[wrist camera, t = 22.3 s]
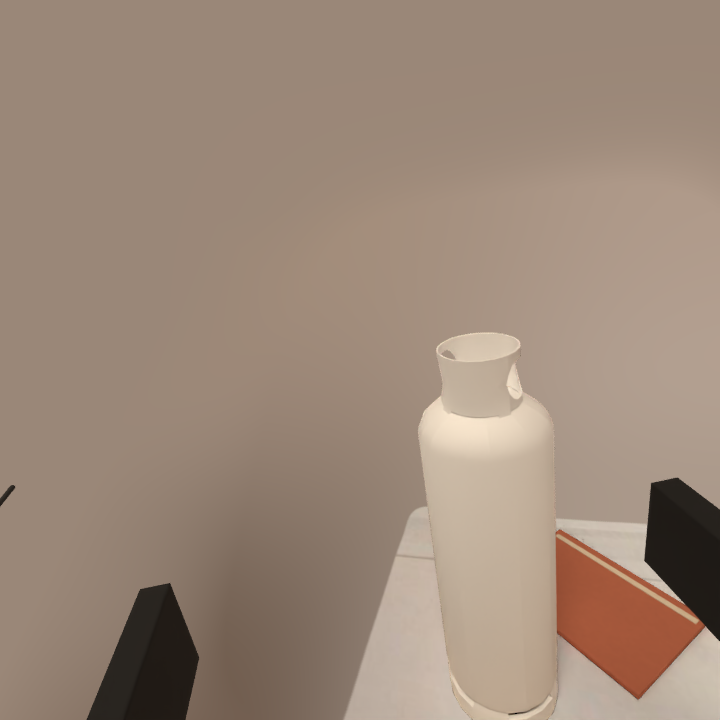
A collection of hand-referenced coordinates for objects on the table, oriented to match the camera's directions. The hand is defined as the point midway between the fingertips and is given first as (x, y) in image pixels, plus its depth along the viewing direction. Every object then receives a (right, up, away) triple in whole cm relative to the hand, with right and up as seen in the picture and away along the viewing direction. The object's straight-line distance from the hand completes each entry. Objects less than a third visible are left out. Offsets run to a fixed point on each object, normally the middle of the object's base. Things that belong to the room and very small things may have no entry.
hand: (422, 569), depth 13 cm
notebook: (+19, -16, +29) cm, 38 cm away
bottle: (+9, -20, +24) cm, 32 cm away
